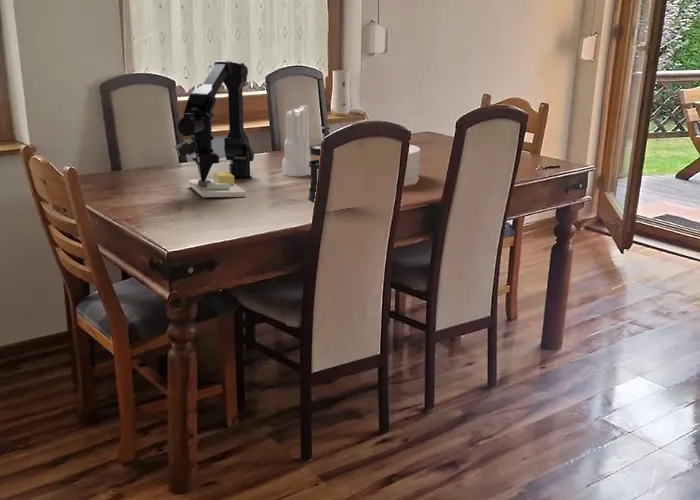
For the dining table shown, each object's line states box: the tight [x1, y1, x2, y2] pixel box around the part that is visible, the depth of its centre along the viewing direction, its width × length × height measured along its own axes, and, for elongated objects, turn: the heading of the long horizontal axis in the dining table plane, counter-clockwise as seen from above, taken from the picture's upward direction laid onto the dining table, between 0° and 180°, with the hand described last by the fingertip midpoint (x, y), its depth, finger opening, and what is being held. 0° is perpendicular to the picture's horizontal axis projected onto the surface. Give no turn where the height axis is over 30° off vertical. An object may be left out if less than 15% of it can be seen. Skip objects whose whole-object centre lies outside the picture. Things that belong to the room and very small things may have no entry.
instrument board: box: [187, 171, 247, 198], centre depth 254 cm, size 14×20×4 cm
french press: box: [308, 125, 331, 203], centre depth 243 cm, size 12×9×23 cm
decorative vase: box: [281, 104, 312, 177], centre depth 281 cm, size 11×11×25 cm
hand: (203, 180), depth 251 cm, fingers closed, pressing on instrument board
